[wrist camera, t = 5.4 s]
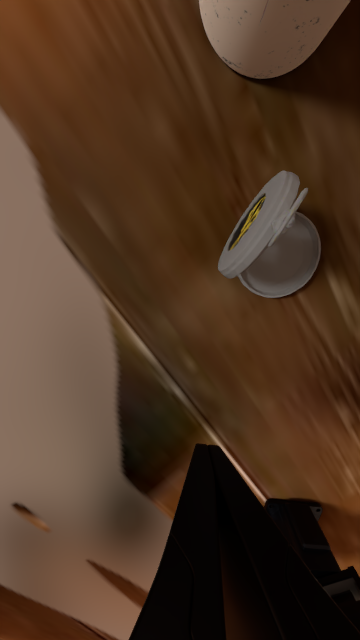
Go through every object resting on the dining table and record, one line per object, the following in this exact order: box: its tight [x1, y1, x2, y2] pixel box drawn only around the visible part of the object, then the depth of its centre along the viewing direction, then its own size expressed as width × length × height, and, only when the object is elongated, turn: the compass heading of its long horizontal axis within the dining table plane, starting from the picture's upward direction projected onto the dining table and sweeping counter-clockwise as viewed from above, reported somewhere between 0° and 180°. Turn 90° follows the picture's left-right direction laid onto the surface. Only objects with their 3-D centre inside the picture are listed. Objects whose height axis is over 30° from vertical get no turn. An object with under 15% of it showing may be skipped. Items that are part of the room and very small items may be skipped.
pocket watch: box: [218, 171, 321, 298], centre depth 14 cm, size 8×8×10 cm
